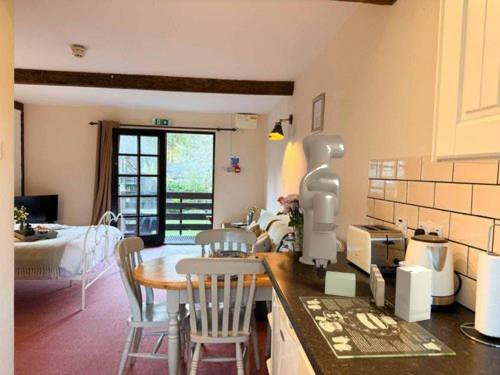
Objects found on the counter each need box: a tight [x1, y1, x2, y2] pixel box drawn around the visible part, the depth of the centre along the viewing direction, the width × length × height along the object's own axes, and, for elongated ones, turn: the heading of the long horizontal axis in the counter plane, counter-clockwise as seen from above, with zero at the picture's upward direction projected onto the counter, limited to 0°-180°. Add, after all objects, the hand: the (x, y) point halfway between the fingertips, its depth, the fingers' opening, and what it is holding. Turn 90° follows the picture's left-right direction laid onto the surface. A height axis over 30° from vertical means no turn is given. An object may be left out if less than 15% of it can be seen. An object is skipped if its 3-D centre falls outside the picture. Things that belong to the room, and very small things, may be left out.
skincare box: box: [394, 264, 433, 324], centre depth 103 cm, size 8×6×15 cm
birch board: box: [369, 263, 386, 307], centre depth 123 cm, size 22×2×8 cm, turn 167°
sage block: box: [324, 270, 357, 298], centre depth 125 cm, size 8×10×6 cm
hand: (321, 277), depth 127 cm, fingers closed
